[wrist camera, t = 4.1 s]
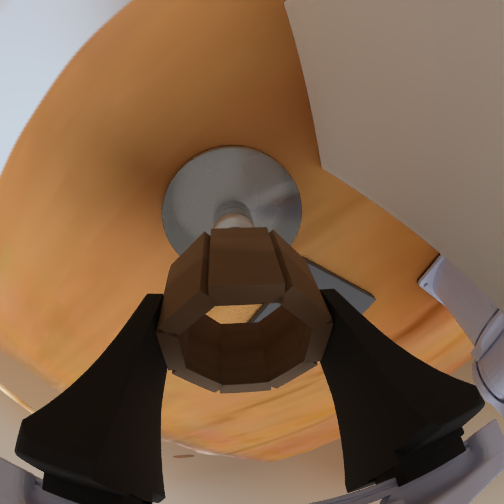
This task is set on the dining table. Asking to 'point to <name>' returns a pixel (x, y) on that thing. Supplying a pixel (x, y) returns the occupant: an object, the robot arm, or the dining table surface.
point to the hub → (230, 196)
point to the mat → (327, 281)
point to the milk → (415, 116)
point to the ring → (242, 293)
